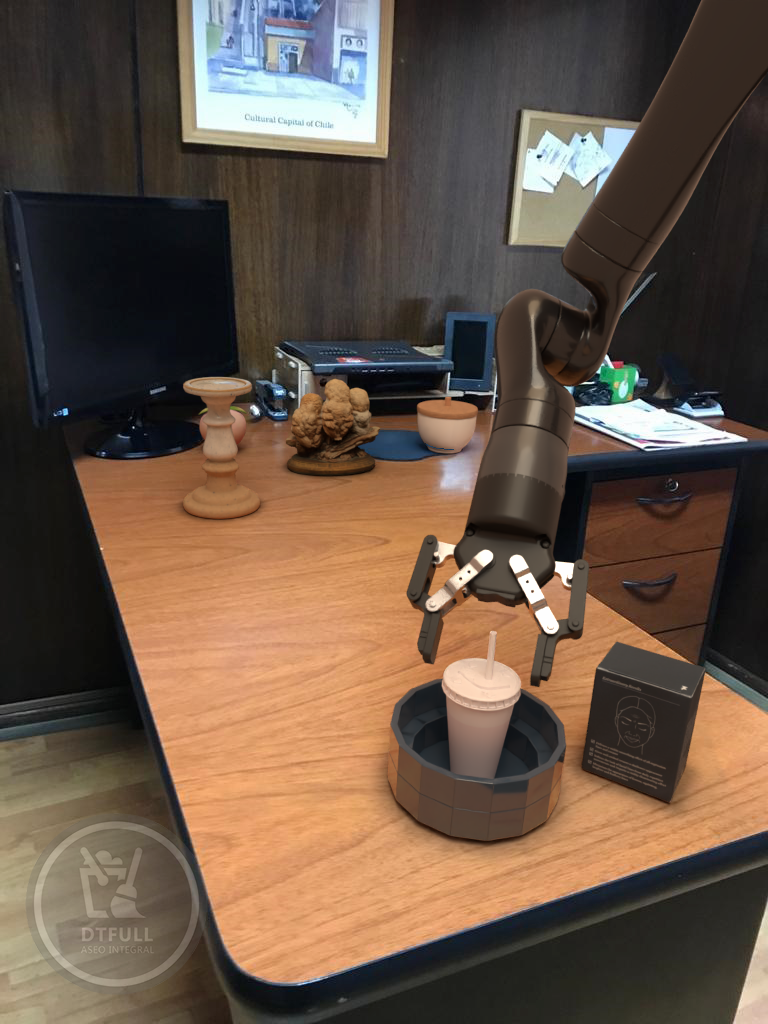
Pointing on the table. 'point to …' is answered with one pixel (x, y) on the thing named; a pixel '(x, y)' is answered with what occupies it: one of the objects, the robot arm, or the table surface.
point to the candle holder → (220, 453)
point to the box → (642, 719)
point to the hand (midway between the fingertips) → (480, 672)
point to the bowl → (467, 799)
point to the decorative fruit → (237, 427)
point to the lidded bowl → (446, 424)
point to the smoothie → (479, 711)
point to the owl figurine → (332, 432)
